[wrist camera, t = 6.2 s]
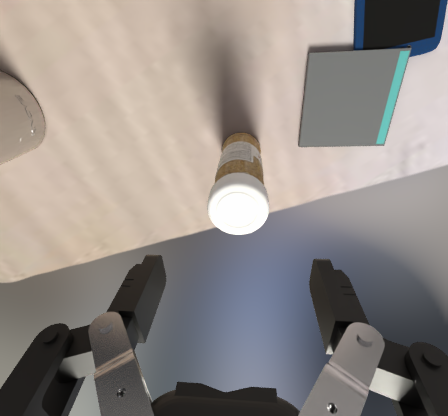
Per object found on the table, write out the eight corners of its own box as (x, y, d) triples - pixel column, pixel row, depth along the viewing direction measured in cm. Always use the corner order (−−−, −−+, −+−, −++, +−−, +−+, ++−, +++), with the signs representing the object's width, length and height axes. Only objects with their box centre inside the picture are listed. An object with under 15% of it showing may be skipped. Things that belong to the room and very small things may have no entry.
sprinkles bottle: (259, 169, 31) (266, 238, 20) (221, 168, 31) (207, 236, 20) (262, 131, 29) (272, 184, 17) (221, 130, 29) (205, 182, 18)
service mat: (298, 145, 29) (299, 147, 29) (308, 52, 25) (309, 52, 24) (381, 143, 29) (384, 145, 28) (408, 48, 24) (411, 47, 23)
